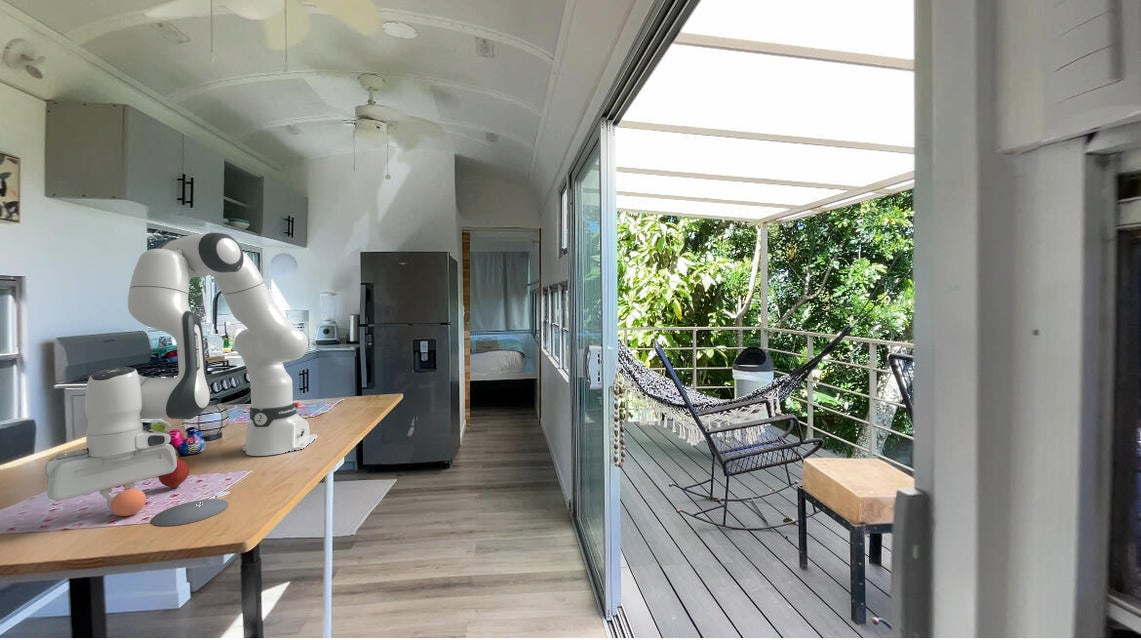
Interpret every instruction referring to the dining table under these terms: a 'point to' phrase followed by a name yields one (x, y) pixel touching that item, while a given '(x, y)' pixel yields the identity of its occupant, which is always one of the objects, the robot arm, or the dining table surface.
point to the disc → (189, 512)
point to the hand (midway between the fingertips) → (117, 505)
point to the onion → (175, 475)
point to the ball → (128, 502)
